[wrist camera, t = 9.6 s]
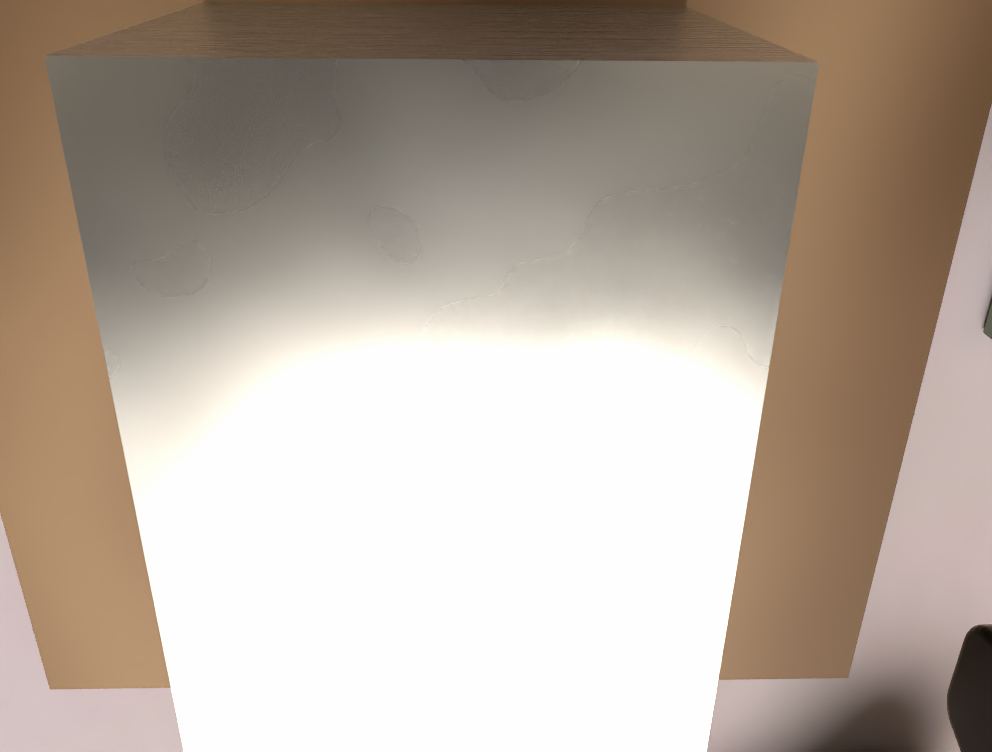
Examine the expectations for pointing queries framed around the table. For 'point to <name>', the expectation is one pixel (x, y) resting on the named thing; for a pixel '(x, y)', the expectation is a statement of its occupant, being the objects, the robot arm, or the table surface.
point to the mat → (989, 324)
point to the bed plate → (791, 377)
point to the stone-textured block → (437, 358)
